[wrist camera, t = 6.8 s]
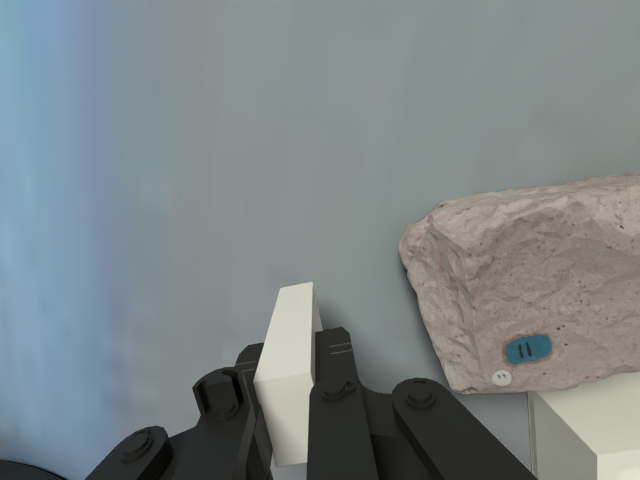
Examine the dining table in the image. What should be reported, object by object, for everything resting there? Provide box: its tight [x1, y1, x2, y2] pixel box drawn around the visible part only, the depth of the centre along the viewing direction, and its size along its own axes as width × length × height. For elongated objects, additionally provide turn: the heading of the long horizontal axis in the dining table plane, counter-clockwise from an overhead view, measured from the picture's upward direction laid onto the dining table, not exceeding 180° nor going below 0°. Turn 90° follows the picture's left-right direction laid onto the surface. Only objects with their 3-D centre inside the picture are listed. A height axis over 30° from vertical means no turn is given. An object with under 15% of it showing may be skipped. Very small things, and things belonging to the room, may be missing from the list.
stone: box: [398, 172, 640, 394], centre depth 15 cm, size 13×10×6 cm
